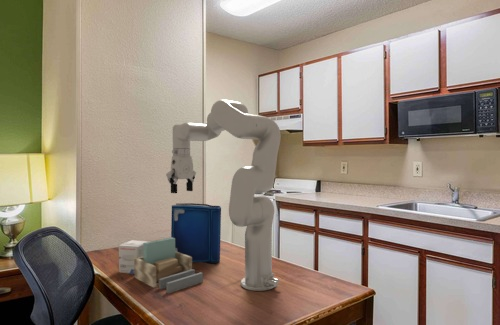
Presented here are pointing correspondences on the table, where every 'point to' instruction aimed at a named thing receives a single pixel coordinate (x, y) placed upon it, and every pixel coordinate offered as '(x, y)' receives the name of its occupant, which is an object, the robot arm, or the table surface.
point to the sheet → (159, 250)
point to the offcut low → (168, 273)
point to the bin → (148, 271)
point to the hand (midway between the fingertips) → (182, 192)
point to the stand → (180, 281)
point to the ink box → (129, 255)
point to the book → (197, 231)
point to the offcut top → (166, 264)
